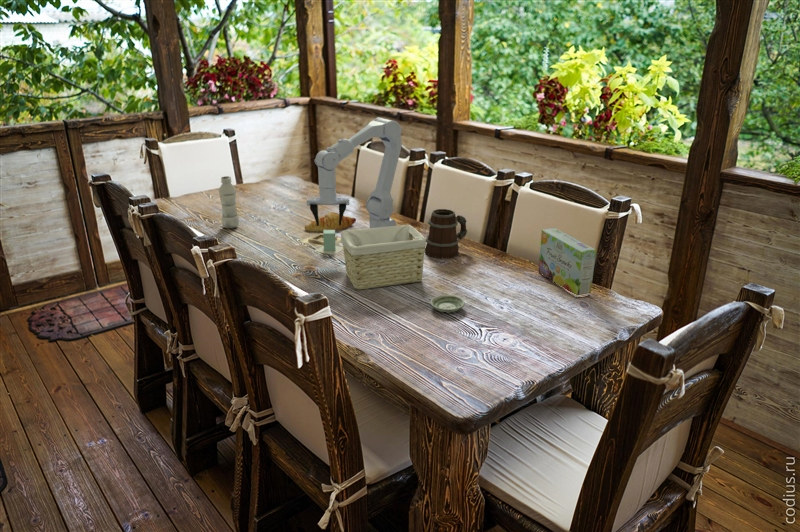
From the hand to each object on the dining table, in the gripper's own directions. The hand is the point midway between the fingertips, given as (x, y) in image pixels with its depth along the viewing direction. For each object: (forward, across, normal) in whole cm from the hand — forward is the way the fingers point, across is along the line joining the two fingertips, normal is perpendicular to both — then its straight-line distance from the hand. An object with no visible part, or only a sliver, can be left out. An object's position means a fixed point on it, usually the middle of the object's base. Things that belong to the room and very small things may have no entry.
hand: (329, 224), depth 209 cm
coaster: (+10, 0, 0) cm, 10 cm away
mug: (+10, -41, +3) cm, 43 cm away
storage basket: (+10, -17, +26) cm, 33 cm away
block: (+9, 0, 0) cm, 9 cm away
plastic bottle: (+10, +40, -28) cm, 50 cm away
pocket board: (+10, +3, -10) cm, 14 cm away
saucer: (+10, -34, +49) cm, 61 cm away
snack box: (+10, -73, +34) cm, 81 cm away
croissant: (+10, +1, -25) cm, 27 cm away
